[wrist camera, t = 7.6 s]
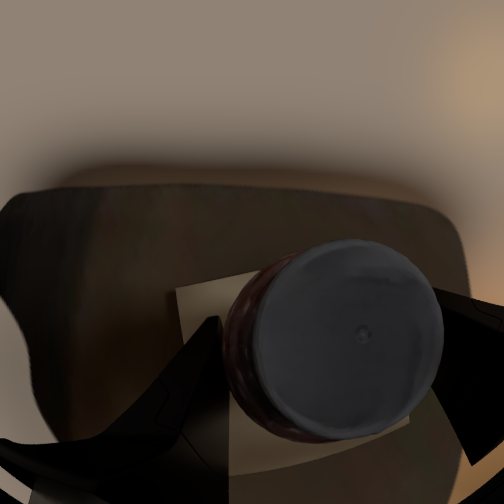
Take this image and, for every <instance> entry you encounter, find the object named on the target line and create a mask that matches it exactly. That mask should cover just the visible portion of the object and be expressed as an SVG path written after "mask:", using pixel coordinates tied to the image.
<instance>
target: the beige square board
mask: <svg viewBox="0 0 504 504" xmlns="http://www.w3.org/2000/svg"><path fill="white" fill-rule="evenodd" d="M259 271H260V270H259ZM259 271H255V272H250V273H246V274H241V275H237V276H232V277H227V278H223V279H218V280H213V281H209V282H204V283H199V284H194V285H190V286H185V287H180V288H175V289H176V296H177V303H178V310H179V317H180V323H181V330H182V336H183V341H184V345H185V344H186V342H187V341H188V340H189V339H190V338H191V336H192V335H193V334H194V333H195V331H196V330H197V329H198V328H199V327H200V325H201V324H202V323H203V322H204V321H205V319H206V318H207V317H210V316H216V315H219V316H220V318H221V321H222V325H223V328H224V326H225V321H226V319H227V315H228V314H229V310H230V308H231V307H232V305H233V303H234V301H235V300H236V298H237V297H238V295H239V293H240V291H241V290H242V289H243V287H244V286H245V285H246V284H247V282H248V281H249V280H250V279H251V278H252V277H254V275H256V274H257V273H258V272H259ZM408 423H410V422H409V415H408V416H406V417H405V418H404V419H402V420H401V421H399V422H398V423H397V424H395V425H393V426H391V427H389V428H387V429H385V430H384V431H382V432H381V433H379V434H376V435H369V436H366V437H362V438H356V439H350V440H342V441H338V442H334V443H327V444H308V443H301V442H293V441H290V440H288V439H285V438H281V437H278V436H276V435H274V434H272V433H270V432H268V431H267V430H266V429H264V428H262V427H260V426H259V425H258V424H256V423H255V422H254V421H253V420H252V419H250V417H248V416H247V415H246V414H245V412H244V411H243V410H242V409H241V408H240V406H239V405H238V404H237V402H236V400H235V399H234V397H233V396H232V393H231V391H230V411H229V476H233V475H241V474H249V473H255V472H262V471H267V470H273V469H278V468H283V467H287V466H292V465H296V464H300V463H304V462H308V461H312V460H315V459H319V458H322V457H326V456H329V455H332V454H335V453H338V452H341V451H344V450H347V449H350V448H353V447H355V446H358V445H361V444H363V443H366V442H368V441H371V440H373V439H376V438H378V437H380V436H383V435H385V434H387V433H389V432H392V431H394V430H396V429H398V428H400V427H402V426H404V425H406V424H408Z"/></svg>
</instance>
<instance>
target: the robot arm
mask: <svg viewBox="0 0 504 504" xmlns="http://www.w3.org/2000/svg"><path fill="white" fill-rule="evenodd" d="M432 289H433V291H434V293H435V296H436V299H437V302H438V304H439V306H440V308H441V312H442V318H443V326H444V345H443V351H442V356H441V362H440V364H439V367H438V370H437V374H436V376H435V379H434V381H433V383H432V385H431V388H432V389H433V391H434V393H435V395H436V396H437V398H438V400H439V402H440V404H441V405H442V407H443V409H444V411H445V413H446V415H447V417H448V419H449V420H450V423H451V425H452V427H453V429H454V431H455V433H456V435H457V437H458V439H459V441H460V443H461V445H462V447H463V449H464V451H465V454H466V456H467V458H468V460H469V462H470V464H471V466H473V465H474V464H476V463H477V462H478V461H480V460H481V459H482V458H484V457H485V456H486V455H487V454H489V453H490V452H491V451H492V450H493V449H495V448H496V447H497V446H498V445H499V444H500V443H502V442H503V440H504V306H499V305H495V304H491V303H487V302H484V301H480V300H476V299H473V298H471V299H470V298H469V297H466V296H462V295H459V294H455V293H452V292H448V291H445V290H441V289H438V288H434V287H432ZM223 331H224V328H223V325H222V321H221V318H220V316H219V315H216V316H210V317H207V318H206V319H205V321H204V322H203V323H202V324H201V325H200V327H199V328H198V329H197V330H196V331H195V333H194V334H193V335H192V336H191V338H190V339H189V340H188V341H187V342H186V344H185V345H184V346H183V347H182V348H181V350H180V351H179V352H178V353H177V354H176V356H175V357H174V358H173V359H172V360H171V362H170V363H169V364H168V365H167V366H166V368H165V369H164V370H163V371H162V372H161V374H160V375H159V376H158V377H159V378H156V380H155V381H154V382H153V383H152V384H151V385H150V387H149V388H148V389H147V390H146V391H145V392H144V393H143V394H142V396H141V397H140V398H139V399H138V400H137V401H136V402H135V403H134V404H133V405H132V406H131V407H129V408H128V409H127V410H126V411H125V412H124V413H123V414H122V415H121V416H120V417H119V418H118V419H117V420H116V421H115V422H114V423H112V424H111V425H110V426H109V427H108V428H107V429H106V430H105V431H103V432H102V433H100V434H99V435H97V436H95V437H92V438H89V439H84V440H77V441H69V442H60V443H49V444H19V443H15V442H12V441H10V440H8V439H5V438H0V466H1V467H2V468H3V469H5V470H6V471H7V472H8V473H10V474H11V475H12V476H13V477H15V478H16V479H18V480H19V481H20V482H22V483H23V484H25V485H26V486H27V487H29V488H30V489H32V493H31V496H30V500H29V503H28V504H229V491H228V490H229V411H230V389H229V386H228V384H227V381H226V377H225V375H224V372H223V365H222V358H221V346H222V336H223ZM0 504H23V503H21V502H20V501H18V500H16V499H15V498H14V497H12V496H10V495H9V494H8V493H6V492H5V491H3V490H2V489H0ZM458 504H504V468H503V469H502V470H501V471H499V472H498V473H497V474H496V475H495V476H494V477H492V478H491V479H490V480H489V481H488V482H486V483H485V484H484V485H483V486H481V487H480V488H479V489H477V490H476V491H475V492H474V493H472V494H471V495H470V496H468V497H467V498H466V499H464V500H462V501H461V502H460V503H458Z"/></svg>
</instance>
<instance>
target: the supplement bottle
mask: <svg viewBox="0 0 504 504" xmlns="http://www.w3.org/2000/svg"><path fill="white" fill-rule="evenodd" d="M443 345H444V326H443V318H442V312H441V308H440V306H439V304H438V302H437V299H436V296H435V293H434V291H433V289H432V287H431V285H430V284H429V282H428V280H427V278H426V277H425V276H424V274H423V273H422V272H420V271H419V269H418V268H417V267H416V266H415V265H414V264H413V263H412V262H410V261H409V259H408V258H406V257H405V256H403V255H402V254H400V253H399V252H396V251H395V250H394V249H392V248H390V247H387V246H385V245H383V244H380V243H377V242H374V241H369V240H363V239H339V240H332V241H329V242H326V243H321V244H319V245H317V246H314V247H311V248H309V249H307V250H302V251H298V252H295V253H291V254H289V255H287V256H284V257H282V258H279V259H277V260H275V261H274V262H272V263H271V264H269V265H267V266H266V267H265V268H263V269H262V270H260V271H259V272H258V273H257V274H256V275H254V277H252V278H251V279H250V280H249V281H248V282H247V284H246V285H245V286H244V287H243V289H242V290H241V291H240V293H239V295H238V297H237V298H236V300H235V301H234V303H233V305H232V307H231V308H230V310H229V314H228V315H227V319H226V321H225V326H224V331H223V336H222V346H221V358H222V365H223V372H224V375H225V377H226V381H227V384H228V386H229V389H230V391H231V393H232V396H233V397H234V399H235V400H236V402H237V404H238V405H239V406H240V408H241V409H242V410H243V411H244V412H245V414H246V415H247V416H248V417H250V419H252V420H253V421H254V422H255V423H256V424H258V425H259V426H260V427H262V428H264V429H266V430H267V431H268V432H270V433H272V434H274V435H276V436H278V437H281V438H285V439H288V440H290V441H293V442H301V443H308V444H327V443H334V442H338V441H342V440H350V439H356V438H362V437H366V436H369V435H376V434H379V433H381V432H382V431H384V430H385V429H387V428H389V427H391V426H393V425H395V424H397V423H398V422H399V421H401V420H402V419H404V418H405V417H406V416H408V415H409V413H410V412H411V411H412V410H413V409H414V408H415V407H416V406H417V405H418V404H419V403H420V402H421V400H422V399H423V398H424V396H425V395H426V393H427V391H428V390H429V388H430V387H431V385H432V383H433V381H434V379H435V376H436V374H437V370H438V367H439V364H440V362H441V356H442V351H443Z"/></svg>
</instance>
